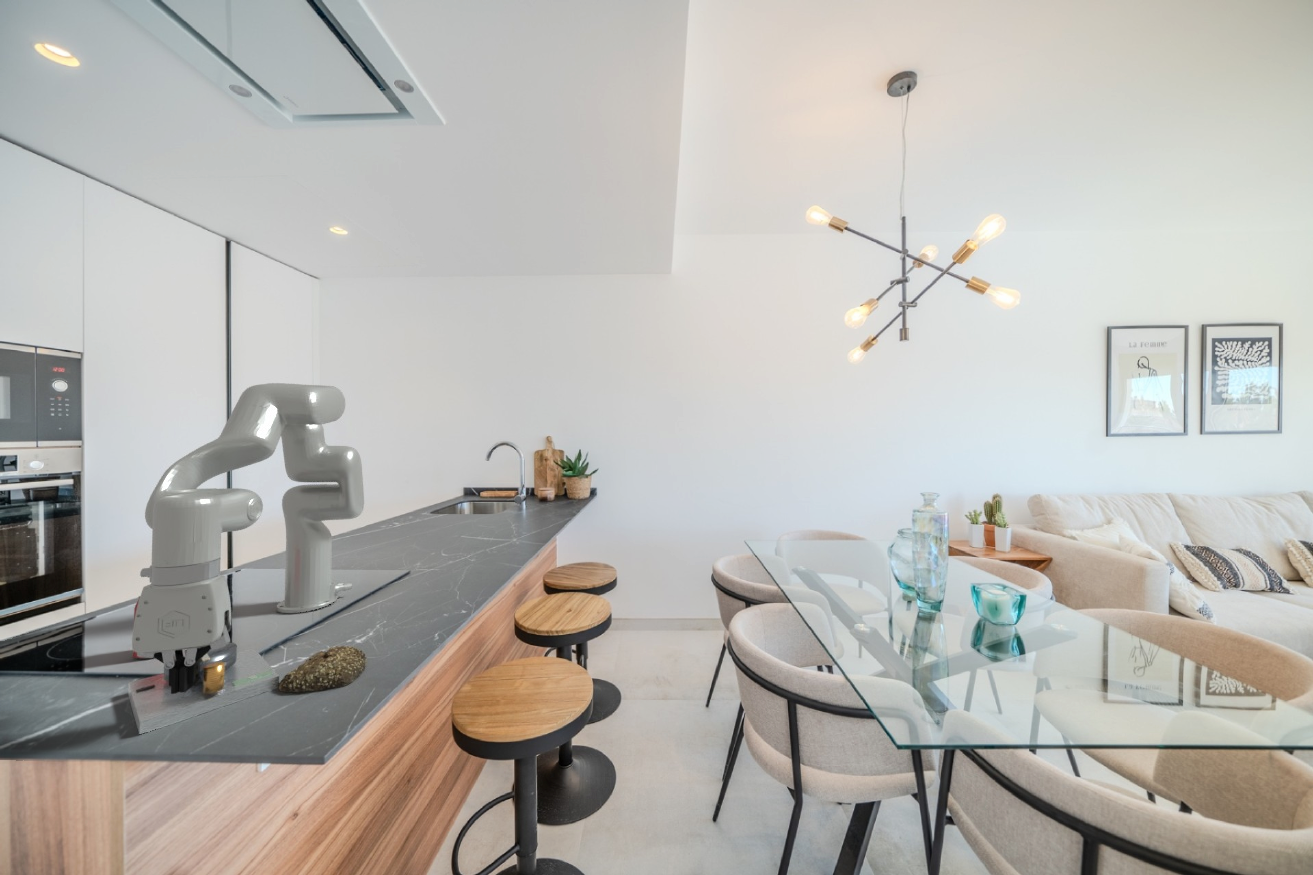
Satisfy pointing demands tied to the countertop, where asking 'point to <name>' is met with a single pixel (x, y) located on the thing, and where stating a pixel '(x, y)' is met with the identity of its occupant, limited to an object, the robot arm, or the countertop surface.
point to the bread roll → (325, 670)
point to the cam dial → (214, 667)
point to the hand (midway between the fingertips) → (184, 688)
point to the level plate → (198, 693)
